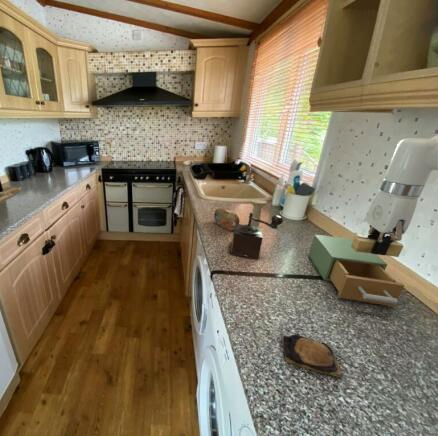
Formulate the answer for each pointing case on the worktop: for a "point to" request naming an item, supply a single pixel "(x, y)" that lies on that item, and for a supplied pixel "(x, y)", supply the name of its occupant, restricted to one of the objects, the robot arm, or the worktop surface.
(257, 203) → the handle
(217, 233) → the worktop surface
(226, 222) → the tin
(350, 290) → the drawer
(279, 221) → the manual coffee grinder
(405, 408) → the worktop surface
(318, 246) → the cabinet
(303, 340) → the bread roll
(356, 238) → the wooden block
